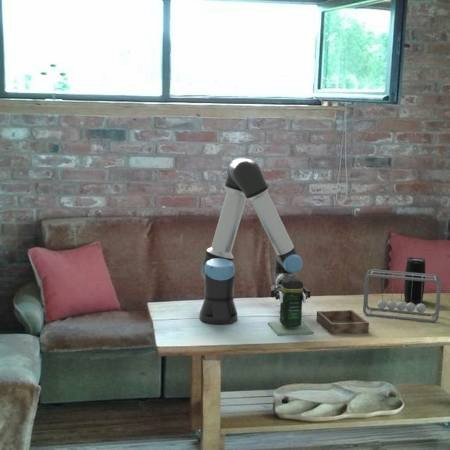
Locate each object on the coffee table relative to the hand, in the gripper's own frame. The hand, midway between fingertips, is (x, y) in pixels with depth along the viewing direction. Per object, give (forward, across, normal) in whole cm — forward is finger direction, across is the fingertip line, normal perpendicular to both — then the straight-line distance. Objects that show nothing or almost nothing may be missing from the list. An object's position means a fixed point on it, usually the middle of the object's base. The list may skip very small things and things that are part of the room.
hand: (293, 299), depth 261 cm
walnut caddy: (-8, -21, -13) cm, 26 cm away
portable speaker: (-47, -61, -13) cm, 78 cm away
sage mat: (-5, 0, -13) cm, 14 cm away
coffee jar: (-5, 0, -11) cm, 12 cm away
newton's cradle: (-25, -48, -13) cm, 56 cm away
